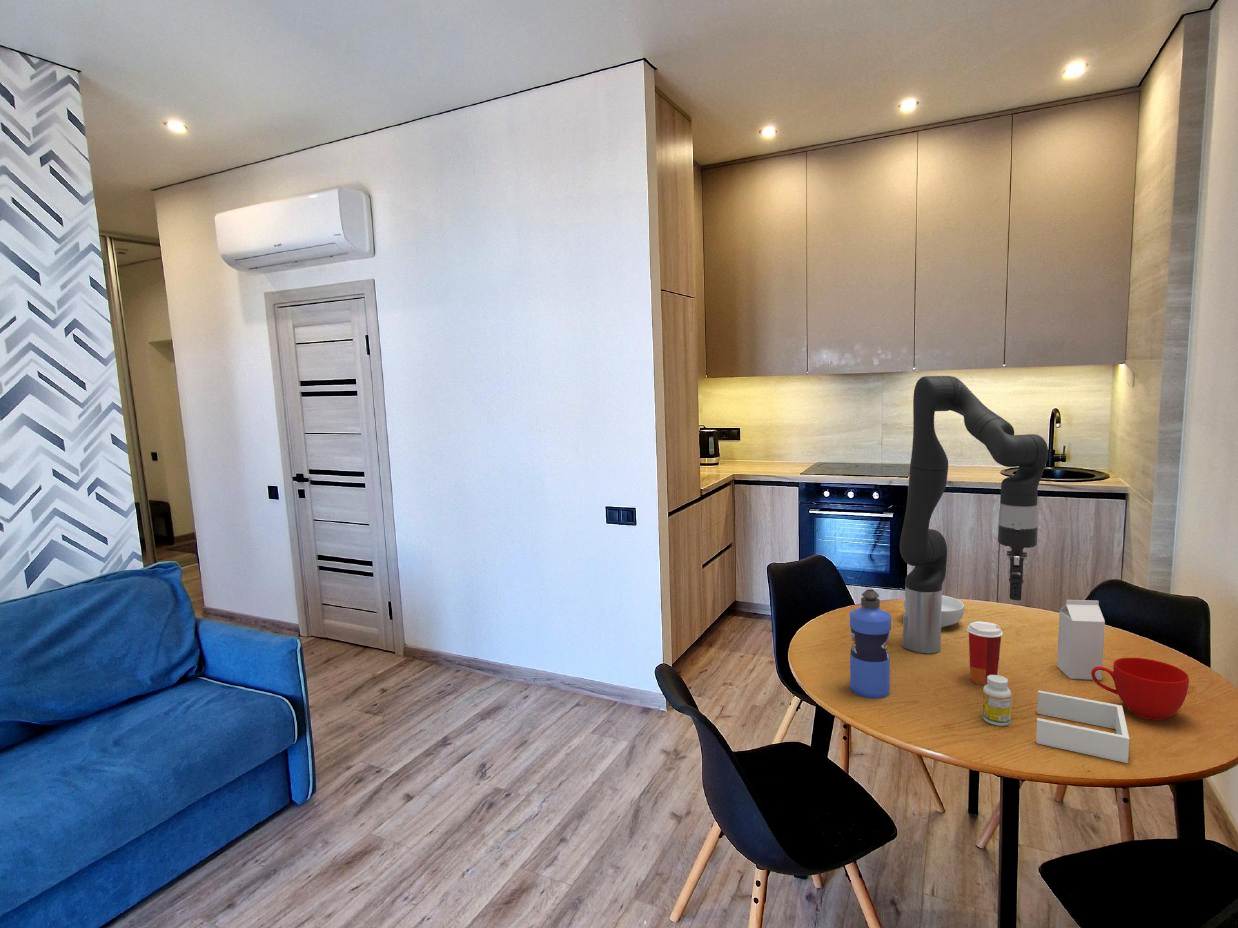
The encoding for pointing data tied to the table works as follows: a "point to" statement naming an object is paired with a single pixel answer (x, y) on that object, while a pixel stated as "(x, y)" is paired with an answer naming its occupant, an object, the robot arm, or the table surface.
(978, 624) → the paper cup
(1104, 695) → the table surface
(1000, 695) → the supplement bottle
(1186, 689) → the ceramic cup
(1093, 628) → the milk carton
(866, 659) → the water bottle
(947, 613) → the cereal bowl
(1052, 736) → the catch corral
